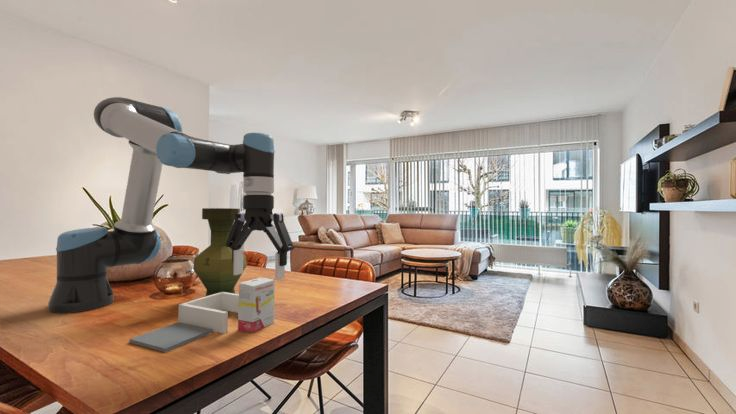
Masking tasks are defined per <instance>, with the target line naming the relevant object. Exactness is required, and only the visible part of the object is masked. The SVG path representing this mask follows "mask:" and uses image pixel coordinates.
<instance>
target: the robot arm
mask: <svg viewBox="0 0 736 414" xmlns="http://www.w3.org/2000/svg"><path fill="white" fill-rule="evenodd" d="M93 119H94V122H95V124H96V125H97V126H98V128H99V129H100V130H101V131H103V132H104V133H106V134H109V135H111V136H113V137H114V138H115V137H116V138H122V139H123V138H124V139H127V140H128V144H129V145H130V147H131V148H132V155H131V160H130V166H129V173H128V178H127V183H126V184H127V185H126V189H125V195H124V202H123V205H122V206H123V208H122V213H121V219H120V220H118V221H116V222H115V223H114V226H113V230H108V229H107V228H106V227H104V226H96V227H87V228H79V229H78V228H77V229H72V230H68V231H64V232H62V233H60V234H59V235H58V237H57V241H56V247H55V251H56V284H55V286H54V288H53V291H52V293H51V296H50V297H49V301H48V305H47V306H48V309H47V311H48V312H50V313H54V314H55V313H56V314H57V313H58V314H59V313H60V314H61V313H63V314H65V313H77V312H84V311H89V310H94V309H99V308H103V307H106V306H108V305H111V304H112V303H114V296H115V295H114V292H113V289H112V286H111V284H110V283H109V280H108V274H107V273H108V268H113V267H120V266H121V267H122V266H128V265H129V266H130V265H139V264H142V263H147V262H150V261H152V260H153V259H154V258H156V256H158V254H159V252H160V250H161V245H162V240H161V235H160V233H159V231H158V230H157V228H156V226H155V224H154V223H153V218H154V217H153V216H154V212H155V205H156V202H157V194H158V190H159V185H160V180H161V174H162V168H163V165H165V166H168V167H173V168H177V169H190V170H191V169H192V170H199V171H200V170H203V171H210V172H215V173H216V174H224V175H225V174H226V175H230V174H235V173H236V174H238V173H243V174H242V178H243V183H242V184H243V193H244V195H243V197H242V200H243V201H242V204H243V205H242V207H243V209H244V210H245V212H240V213H236V214H235V220H234V223H233V226H232V229H231V232H230V234H229V237H228V239H227V242H226V247H230V248H231V249H232V261H233V262H234V275H239V274H242V275H243V274H244V271H243V253H244V249H243V245H244V244H245V242H246V241H247V239H248V238H249V236H250V235H251V234H252V232H253V231H259V232H260V231H262V232H264V233H265V234H266V235H267V237H268V239H269V240H270V241H271V244H272V245H273V246H274V248H275V249H276V253H275V254H274V255H275V256H274V257H275V259H274V261H275V262H274V265H275V266H274V268H275V270H274V271H275V273H274V276H275V277H274V278H275V279H274V280H275V281H278V280H282V279H285V275H286V274H285V273H286V272H285V271H286V269H285V267H286V266H287V265H288V262H287V261H288V252H290V251H294V249H295V245H294V244H293V241H292V239H291V236H290V234H289V231H288V228H287V226H286V223H285V221H284V220H285V219H284V213H283V212H280V213H279V212H276V213H274V212H273V210H274V207H275V196H274V195H272V194H274V193H275V172H274V170H275V168H274V167H275V162H274V161H275V146H274V143H275V142H274V138H273V137H272V135H270V134H268V133H262V132H248V133H246V134H244V135H243V140H242V143H240V144H229V143H223V142H217V141H212V140H208V139H203V138H198V137H194V136H190V135H188V134H186V133H183V126H182V122H181V119H180V117H179V116H178V114H177V113H176V112H175V111H173V110H170V109H167V108H165V107H162V106H158V105H154V104H149V103H146V102H142V101H138V100H134V99H131V98H129V97H128V98H127V97H121V96H119V97H117V96H116V97H109V98H106V99H103V100H101V101H100V102H98V103H97V105H96V106H95V107H94V110H93Z"/></svg>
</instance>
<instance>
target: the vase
mask: <svg viewBox="0 0 736 414" xmlns="http://www.w3.org/2000/svg"><path fill="white" fill-rule="evenodd" d="M236 213H241V209H240V208H229V207H228V208H227V207H226V208H224V207H220V208H219V207H217V208H215V207H211V208H210V207H208V208H207V207H205V208H202V209H201V220H207V222H208V226H209V228H210V229H209V230H210V245H209V246H208V247H206V248H205V249H204V250H202V251H201V252H200V253H199V254H198V255H196V256H195V257H194V260H193V265H192V269H193V271H194V273H195V274H196V276H197V277H198V278H199V280H200V282H201V284H202V285H203V287H204V288H205V290H206V291H205V296H204V297H206V296H209V295H213V294H216V293H220V292H227V293H234V294H236V291H235V286H236V285H237V283H238V282H239V280H240V278H241V276H242V275H243V274H239V275H234V262H233V261H232V249H231V248H230V247H226V242H227V239H228V237H229V234H230V232H231V229H232V226H233V224H234V221H235V214H236ZM247 266H248V261H247V255H246V254H245V253H244V252H243V272H244V271H245V269H246V268H247Z"/></svg>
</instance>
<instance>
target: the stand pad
mask: <svg viewBox="0 0 736 414" xmlns="http://www.w3.org/2000/svg"><path fill="white" fill-rule="evenodd" d="M212 333H213V331H212V329H208V328H203V327H198V326H194V325H189V324H185V323H180V322H178V321H177V322H174V323H172V324H169V325H165V326H163V327H159V328H158V329H154V330H150V331H149V332H145V333H143V334H140V335H137V336H134V337H132V338H129V343H130V344H134V345H137V346H142V347H144V348H148V349H152V350H156V351H158V352H163V353H167V352H169V351H172V350H174V349H177V348H179V347H181V346H183V345H186V344H190V342H191V343H192V342H194V341H196V340H198V339H201V338H203V337H206V336H208V335H210V334H212Z"/></svg>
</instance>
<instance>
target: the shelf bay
mask: <svg viewBox="0 0 736 414" xmlns="http://www.w3.org/2000/svg"><path fill="white" fill-rule="evenodd" d="M205 296H206V295H205ZM205 296H203V297H199V298H196V299H192V300H190V301H186V302H182V303H180V304H178V313H177V314H178V317H177V318H178V321H177V322H180V323H185V324H189V325H194V326H198V327H203V328H208V329H212V332H214V333H215V332H216V333H219V334H226V333H228V328H229V326H228V323H229V320H228V319H229V316H228V314H229V313H228V312H231V313H236V314H238V307H239V293H235V294H234V293H227V292H220V293H216V294H213V295H209V296H206V297H205Z"/></svg>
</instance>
